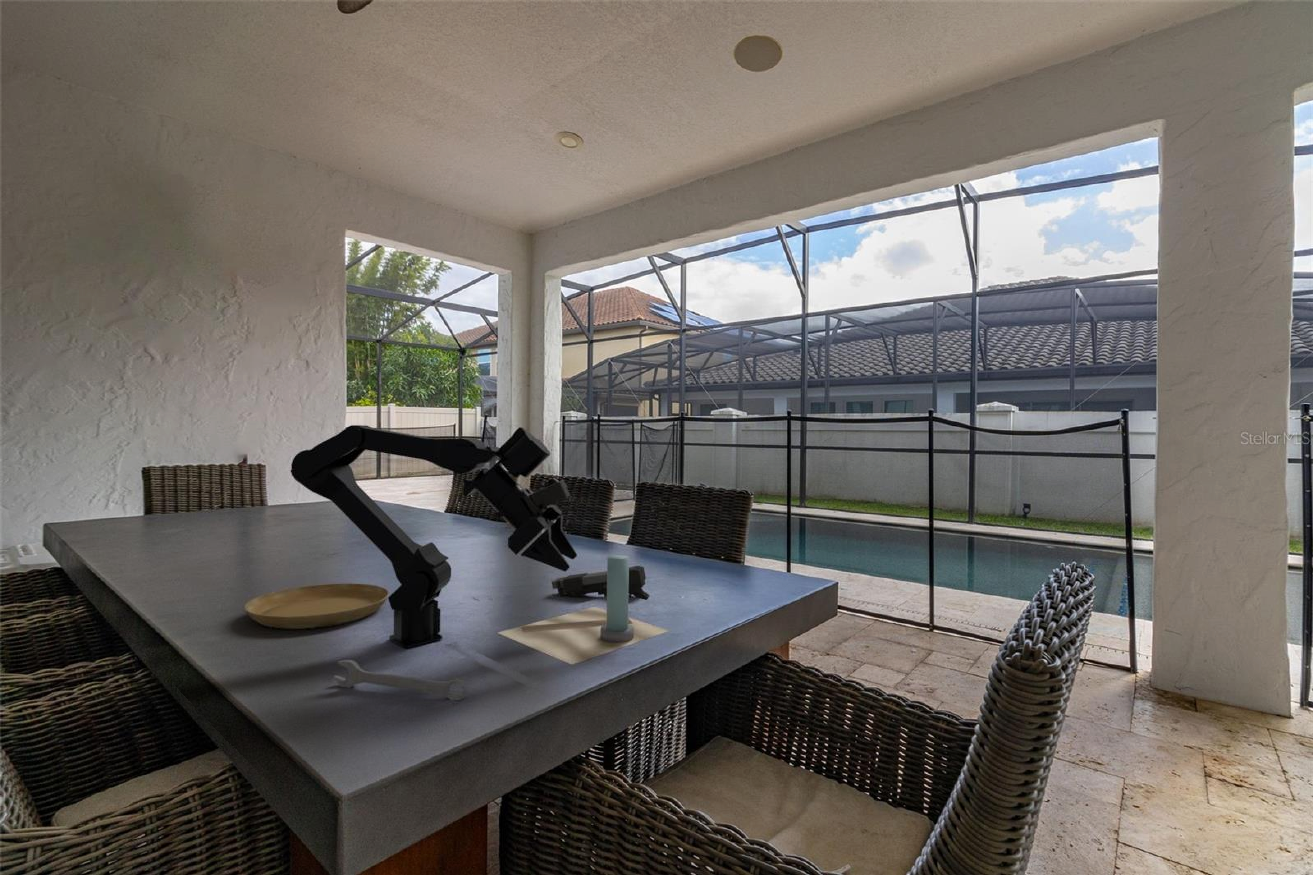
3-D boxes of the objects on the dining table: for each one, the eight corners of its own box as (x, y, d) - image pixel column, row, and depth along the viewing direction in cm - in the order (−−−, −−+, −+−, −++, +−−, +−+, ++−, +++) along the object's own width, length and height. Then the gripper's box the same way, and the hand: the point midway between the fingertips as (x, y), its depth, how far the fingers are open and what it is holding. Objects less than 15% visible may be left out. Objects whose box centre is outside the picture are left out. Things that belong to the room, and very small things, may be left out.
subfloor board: (571, 671, 90) (571, 664, 90) (497, 638, 103) (497, 632, 103) (670, 636, 106) (670, 630, 106) (594, 611, 119) (594, 606, 119)
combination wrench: (469, 674, 80) (339, 656, 85) (464, 678, 79) (332, 659, 83) (468, 702, 80) (338, 683, 85) (463, 707, 79) (332, 686, 84)
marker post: (616, 645, 98) (617, 562, 98) (593, 637, 102) (594, 557, 102) (640, 637, 102) (641, 557, 102) (617, 629, 106) (618, 552, 106)
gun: (649, 603, 125) (634, 556, 126) (563, 627, 130) (549, 582, 130) (654, 597, 130) (639, 552, 130) (571, 621, 134) (557, 577, 135)
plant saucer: (339, 591, 132) (339, 576, 132) (415, 608, 121) (415, 591, 121) (216, 621, 111) (216, 603, 111) (295, 644, 100) (295, 624, 100)
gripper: (530, 466, 92) (601, 539, 93) (551, 460, 111) (610, 521, 111) (477, 517, 92) (548, 590, 93) (507, 502, 111) (566, 563, 111)
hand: (571, 563), depth 102 cm, fingers open, 9 cm apart
